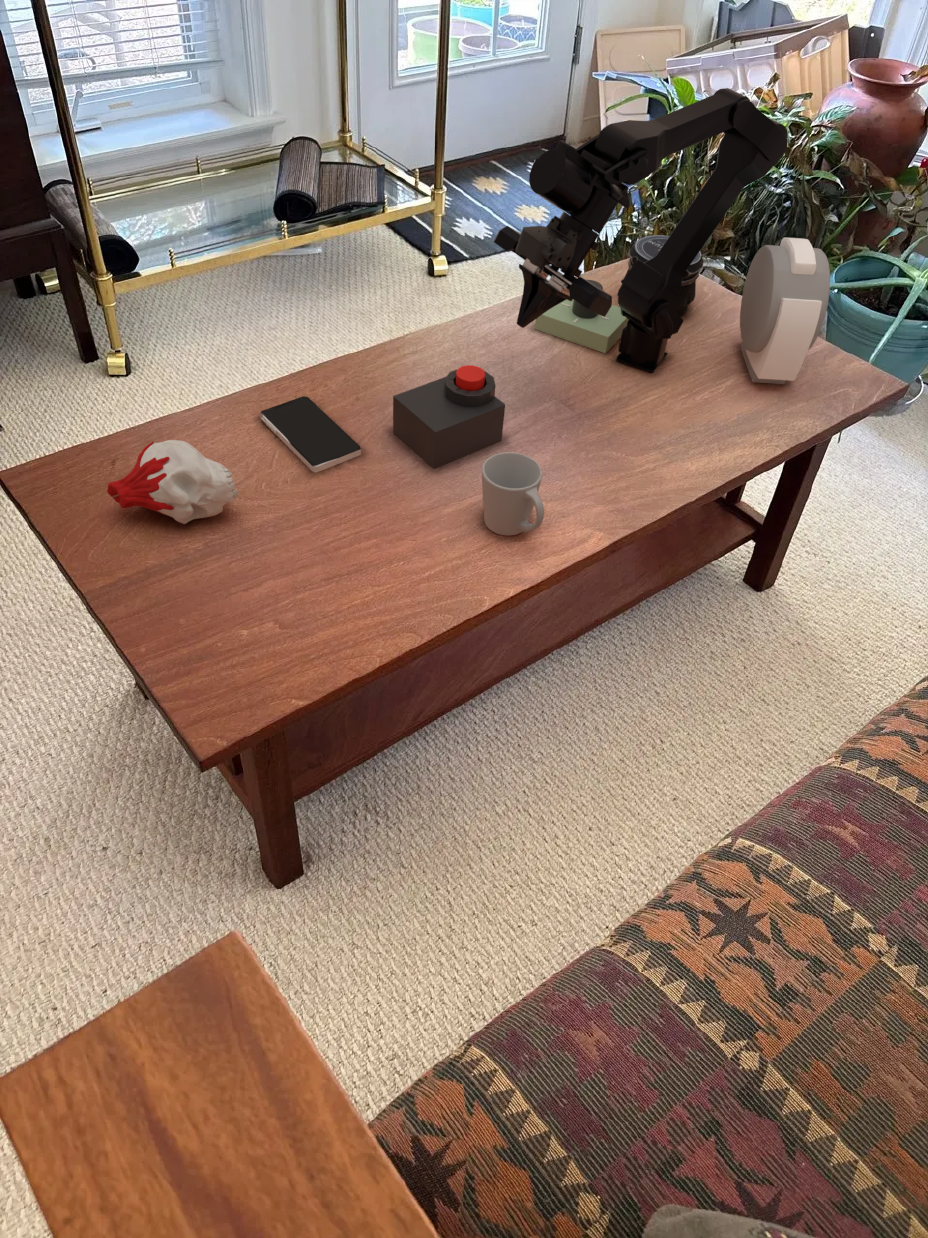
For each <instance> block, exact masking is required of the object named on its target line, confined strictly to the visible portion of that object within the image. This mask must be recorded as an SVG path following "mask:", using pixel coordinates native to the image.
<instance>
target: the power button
mask: <svg viewBox="0 0 928 1238" xmlns="http://www.w3.org/2000/svg"><path fill="white" fill-rule="evenodd" d="M456 370H457V371H456V386H457V387H458V388H460V389H463V390H466V391H477V390H480V389H482V388H483V387H484V383H485V372H484V371H485V370H484V369H482V367H480V366H477V365H469V364H468V365H467V364H466V365H462V366H460V367H458V368H457V369H456Z"/></svg>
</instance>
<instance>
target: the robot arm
mask: <svg viewBox="0 0 928 1238" xmlns="http://www.w3.org/2000/svg"><path fill="white" fill-rule="evenodd" d="M722 133H723V137H722V139H721V141H720V142H719V145H718V152H717V160H716V166H715V168H714V170H713V171H712V173H711V174H710V176H709V177H708V179H707V180H706V182H705V183H704V184H703V186H702V188H701V189H700V191H699V192H698V193H697V195H696V196H695V198H694V199H693V201H692V202H691V204H690V205H689V207H688V208H687V210H686V211H685V212H684V214H683V216H682V217H681V218H680V220H679V222H678V223H677V224H676V225H675V228H674V229H673V230H672V232H671V233H670V235H668V236H669V238H668V239H667V241H666V242H665V244H664V245H663V246H662V248H661V249H660V251H659V252H658V254H657V255H656V256H655V257H654V258H652V259H650V260H648V261H646V262H642V261H641V260H637V261H636V262H635V263H634V264H633V266H632V268H631V270H630V271H629V273H628V274H627V276H626V277H625V276H624V277H625V278H624V277H623V278H622V279H621V280H620V283H621V285H620V287H619V288H618V292H617V303H618V304H617V305H618V307H620V308H621V315H622V316H625V317H626V318H628V319H629V321H628V322H627V325H626V326H625V327H624V328H623V330H622V335H621V337H620V339H619V345H618V353H619V354H618V355H617V356H616V359H615V361H616V362H618V363H621V364H624V365H626V366H629V367H632V368H635V369H638V370H641V371H644V372H647V373H650V374H653V373H655V371H657V369H658V368H659V367H660V365H662V363H663V362H664V361H665V360H666V359H667V357H668V352H666V350H667V345H668V341H669V339H671V338H672V336H673V335H676V334H678V333H679V331H680V329H681V327H682V325H683V323H684V319H683V318H682V316H681V317H680V316H679V314H678V313H677V312H676V311H675V309H674V307H675V305H676V303H677V301H678V300H679V298H680V292H681V284H682V277H683V275H684V273H685V271H686V270H687V269H688V267H689V266H690V264H691V263H692V261H693V260H694V258H695V257H696V256H697V254H698V253H699V251H700V252H701V251H702V249H703V247H704V246H705V244H706V243H707V242H708V240H709V239H710V237H711V235H712V234H713V233H714V232H715V230H716V229H717V227H718V225H719V224H720V223H721V221H722V220H723V219H724V217H725V215H727V212H729V210H730V208H731V207H732V205H733V204H734V203H735V201H736V200H737V199H738V197H739V195H740V194H741V193H742V191H743V190H744V188H746V187H748V186H750V185H751V184H753V183H755V182H757V181H758V180H760V179H762V178H764V177H765V176H767V174H768V173H769V172H770V171H771V170H772V169H773V167H774V166H775V165H776V164H777V163H778V162H779V160H780V159H781V158H782V157H783V155H784V154H785V152H786V150H787V147H788V142H789V141H788V140H789V139H788V129H787V127H786V126H785V125H784V124H783V123H781V122H780V121H776V120H774V119H772V118H770V117H768V116H767V115H766V114H764V113H763V112H762V111H761V110H760V109H758V108H757V106H756V105H755V104H754V103H753V101H751V99H750V98H749V97H748V96H746V95H744V94H741V93H739V92H738V91H736V90H733V89H731V88H728V87H726V88H724V87H723V88H719V89H718V90H716V91H715V92H714V93H713V94H711V95H709V96H707V97H705V98H702V99H701V100H697V101H695V102H693V103H690V104H688V105H686V106H683V107H681V108H678V109H675V110H673V111H671V112H668V113H666V114H664V115H662V116H659V117H657V118H654V119H649V120H631V119H629V120H624V121H617V122H613V123H609V124H607V125H606V126H604V127H603V128H602V129H601V130H600V131H599V133H598V134H597V135H595V136H593V137H592V138H591V139H589V140H588V141H586V142H584V143H582V144H581V145H579V146H577V147H576V148H574V147H573V146H572V145H570V144H569V143H567V142H566V141H564V140H558V143H557V144H556V147H554V148H550V149H548V150H545V151H544V152H543V153H542V154H541V155H540V156H538V157H537V158H536V159H535V160H534V162H533V163H532V166H531V168H530V172H529V177H528V179H529V181H528V183H529V186H530V189H531V191H532V192H533V193H535V194H536V195H538V196H539V197H541V198H543V199H544V200H546V201H547V202H549V203H550V204H552V205H553V206H554V207H557V208H558V209H559V210H561V211H562V214H561V215H560V217H558V216H557V215H554V216H553V217H552V218H551V219H550V221H549V222H548V223H547V225H546V226H544V225H533V226H523V227H522V229H521V232H519V231H518V230H516V229H514V228H512V226H509V225H506V226H504V227H502V228H501V229H500V230H498V232H497V233H496V235H495V237H494V238H493V240H492V242H493V243H494V244H496V245H497V246H499V248H501V249H502V250H504V251H505V252H507V253H510V252H512V253H514V254H515V255H517V256H518V257H520V258H521V259H522V260H523V262H522V264H521V263H519V264H518V269H519V270H520V271H521V272H522V278H523V290H522V297H521V300H520V301H521V302H520V306H519V310H518V315H517V319H516V325H517V326H519V327H520V328H522V329H523V328H525V327H527V326H529V325H530V324H531V323H533V322H534V321H536V319H537V318H538V317H539V316H541V315H542V314H544V313H545V312H546V311H548V310H549V309H551V308H553V307H554V306H556V305H558V304H560V303H561V302H563V301H565V300H569V301H572V300H573V299H574V300H575V301H577V302H578V303H580V304H581V305H582V306H584V307H585V308H587V309H589V310H591V311H593V312H595V313H597V314H599V315H601V316H603V317H605V316H606V314H607V313H608V311H609V309H610V308H611V305H613V296H612V295H611V294H610V293H608V292H607V291H605V290H602V289H601V288H599V287H598V286H596V285H595V284H593V283H591V282H589V281H588V280H589V279H585V278H584V277H582V276H581V275H582V273H583V270H581V269H580V267H581V265H582V264H583V262H584V261H585V259H586V257H587V256H588V254H589V252H590V251H591V250H592V251H594V252H595V251H596V250H597V249H598V247H599V245H600V243H598V242H597V240H598V237H599V236H600V234H601V232H602V231H603V229H604V227H605V226H606V224H607V223H608V221H609V219H610V218H611V216H612V214H613V213H614V211H615V210H616V208H617V206H618V205H620V206H622V207H623V208H625V209H628V208H630V206H631V199H630V196H629V186H633V185H636V184H637V183H639V182H641V181H642V180H644V179H645V178H647V177H648V176H650V175H652V174H653V173H655V172H656V171H657V170H658V168H659V167H660V165H661V163H662V162H663V160H665V159H666V158H667V157H669V156H671V155H673V154H676V153H678V152H681V151H683V150H685V149H687V148H690V147H693V146H695V145H698V144H699V143H702V142H704V141H706V140H708V139H711V138H713V137H715V136H718V135H720V134H722ZM559 270H560V271H559ZM548 277H550V278H549V280H548Z"/></svg>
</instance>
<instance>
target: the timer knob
mask: <svg viewBox="0 0 928 1238" xmlns="http://www.w3.org/2000/svg"><path fill="white" fill-rule="evenodd" d="M587 280H588V281H589V282H591V283H593V284H595V285H596V286H598V287H599V288H601V289H602V290H603V289H604V286H603V285H602V284H601V282H598V281H596V280H593V279H587ZM603 291H604V290H603ZM572 312H573V313H574V314H575V315H576V316H578V317H581V318H594V317H596V316H597V315H598V314H597V313H595V312H593V311H591V310H589V309H587V308H585V307H584V306H582V305H581V304H580V303H578V302H577V301H575V300H573V307H572Z"/></svg>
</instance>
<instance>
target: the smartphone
mask: <svg viewBox="0 0 928 1238" xmlns="http://www.w3.org/2000/svg"><path fill="white" fill-rule="evenodd" d="M259 415H260V420H261V421H262V423H264V424H265V425H266V426H267V427H268V428H269V430H271V432H272V433H273V434H274V435H275V436H277V437H278V438H279V439H280V440H281V441H282V442H283V444H285V446H287V448H289V450H290V451H291V452H292V453H293V454H294V455H295V456H296V457H297V458H298V459H299V460H301V462H302V463H303V464H304V465H305V466H306V467H307V468H308V469H309V470H310V471H311V472H312V473H320V472H322V471H324V470H327V469H329V468H332V467H334V466H336V465H340V464H342V463H345V462H347V461H350V460H352V459H354V458H357V457H359V456H361V455H362V448H361V445H359V443H357V442H356V441H355V440H354V439H353V438H352V437H351V436H350V435H349V434H348V433H346V431H344V429H343V428H342V427H340V426H339V424H337V423H336V422H335V421H334V420H333V419H332V418H331V417H329V415H328V414H327V413H326V412H325V411H323V410H322V409H321V408H320V407H319V405H317V404H316V403H315V402H314V401H313V400H312V399H311V398H310V397H308V396H305V395H302V396H300V397H297V398H295V399H292V400H288V401H285V402H282V403H280V404H277V405H274V406H271V407H269V408H265V409H263V410H261V411H260V414H259Z"/></svg>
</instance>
